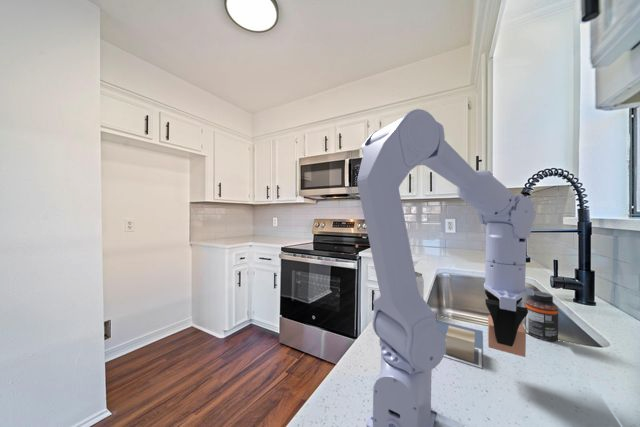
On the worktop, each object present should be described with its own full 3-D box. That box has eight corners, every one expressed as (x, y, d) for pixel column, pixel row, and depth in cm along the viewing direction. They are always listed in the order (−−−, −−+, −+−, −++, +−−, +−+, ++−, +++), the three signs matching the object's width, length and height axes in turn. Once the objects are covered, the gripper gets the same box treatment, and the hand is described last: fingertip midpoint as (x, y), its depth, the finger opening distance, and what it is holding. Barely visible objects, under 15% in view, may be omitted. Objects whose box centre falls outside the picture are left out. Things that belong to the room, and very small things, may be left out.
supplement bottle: (537, 332, 63) (538, 288, 63) (564, 344, 57) (565, 296, 57) (518, 334, 61) (519, 290, 61) (545, 347, 56) (546, 298, 56)
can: (399, 313, 73) (399, 274, 73) (402, 306, 78) (403, 269, 78) (422, 318, 70) (422, 277, 70) (424, 310, 75) (424, 272, 75)
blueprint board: (483, 374, 46) (483, 368, 46) (407, 350, 54) (407, 345, 54) (482, 334, 61) (482, 330, 61) (423, 320, 69) (423, 316, 69)
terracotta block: (525, 357, 40) (525, 333, 40) (488, 347, 43) (488, 324, 43) (521, 343, 44) (521, 321, 44) (487, 335, 47) (488, 315, 47)
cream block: (474, 362, 48) (474, 342, 48) (445, 353, 51) (446, 334, 51) (474, 350, 52) (474, 332, 52) (448, 343, 55) (448, 325, 55)
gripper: (543, 273, 35) (541, 366, 35) (527, 258, 47) (526, 327, 47) (484, 266, 39) (483, 350, 39) (483, 254, 51) (482, 318, 51)
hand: (503, 337), depth 43 cm, fingers closed on terracotta block, 5 cm apart
